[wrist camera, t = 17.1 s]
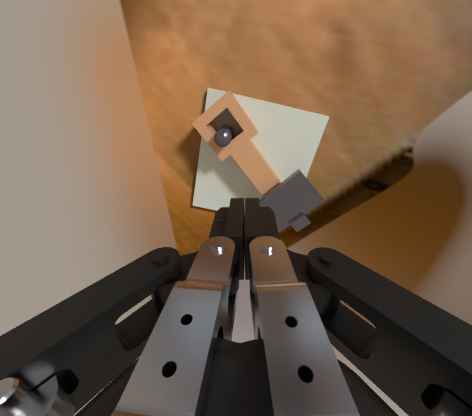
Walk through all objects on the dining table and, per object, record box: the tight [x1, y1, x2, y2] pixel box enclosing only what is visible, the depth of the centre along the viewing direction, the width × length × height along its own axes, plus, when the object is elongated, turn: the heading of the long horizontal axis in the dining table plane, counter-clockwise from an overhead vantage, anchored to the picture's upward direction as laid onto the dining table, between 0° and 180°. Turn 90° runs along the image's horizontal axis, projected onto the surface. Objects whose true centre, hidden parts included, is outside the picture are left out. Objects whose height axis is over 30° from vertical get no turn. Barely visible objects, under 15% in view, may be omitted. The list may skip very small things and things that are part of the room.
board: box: [193, 88, 329, 211], centre depth 33 cm, size 18×17×1 cm
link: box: [192, 90, 281, 197], centre depth 30 cm, size 15×6×4 cm, turn 38°
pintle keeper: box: [214, 125, 325, 232], centre depth 31 cm, size 13×16×7 cm
